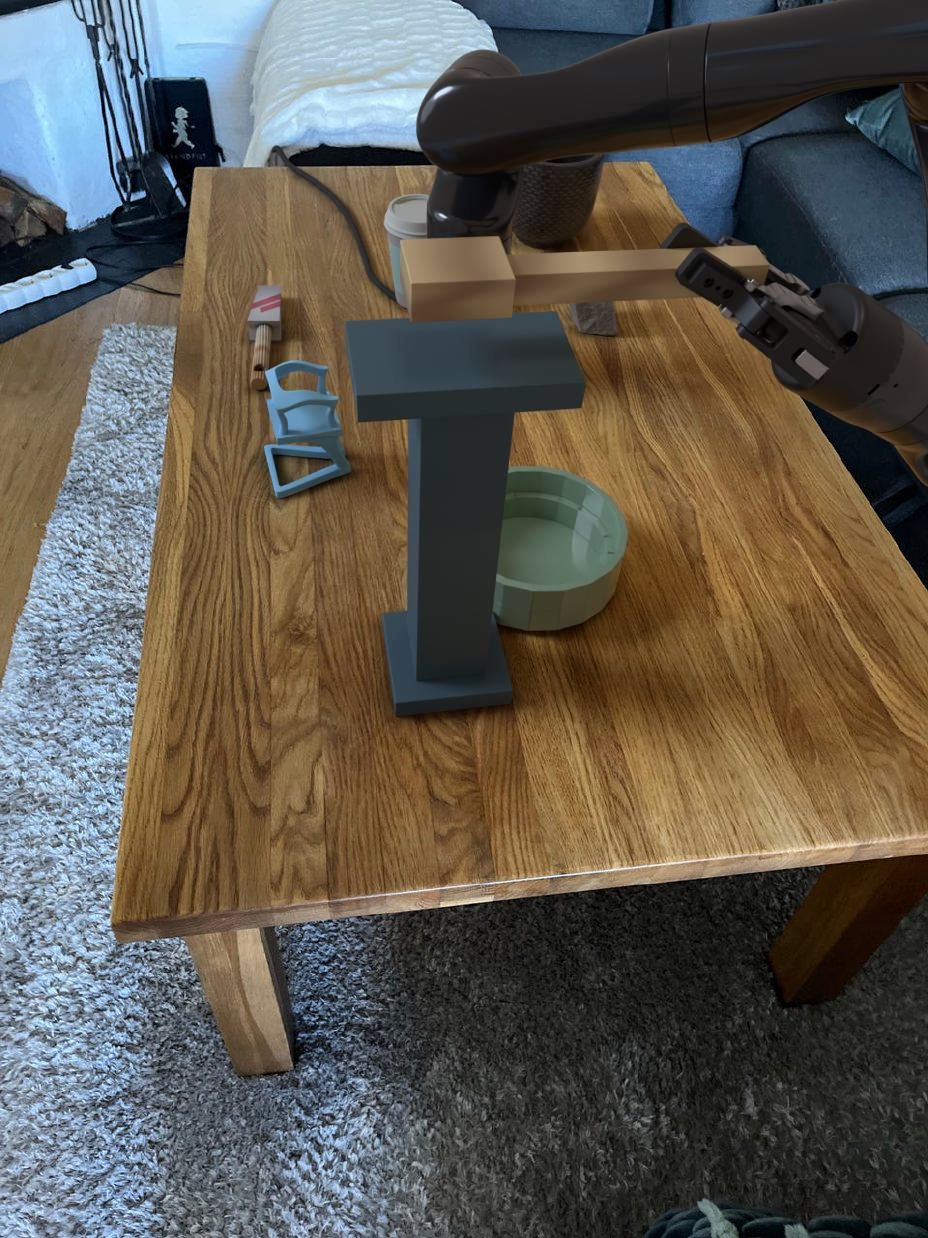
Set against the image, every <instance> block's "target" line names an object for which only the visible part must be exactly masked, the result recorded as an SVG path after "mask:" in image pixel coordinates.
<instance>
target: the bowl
mask: <svg viewBox="0 0 928 1238" xmlns="http://www.w3.org/2000/svg"><path fill="white" fill-rule="evenodd" d="M628 540H629V530H628V526H627V522H626V518H625V515H624V512H623V511H622V509H620V507H619V506H618V505H617V503H616V502H615V500H614V499H613V497H612V496H611V495H610V494H608V493H607V492H605V491H604V490H603V489H602V488H600V487H599V486H598V485H596V484H595V483H594V482H592V481H591V480H589V479H586V478H584V477H582V476H580V475H577V474H575V473H573V472H570V471H568V470H564V469H560V468H559V469H558V468H553V467H549V466H545V465H513V466H509V469H508V478H507V487H506V496H505V505H504V514H503V523H502V532H501V541H500V549H499V558H498V567H497V576H496V585H495V594H494V603H493V612H494V616H495V620H496V624H497V625H499V626H505V627H508V628H513V629H518V630H522V631H526V632H527V631H528V632H529V631H530V632H532V631H533V632H537V631H538V632H539V631H541V632H543V631H559V630H562V629H565V628H566V629H567V628H569V627H572V626H577V625H580V624H583V623H585V622H586V621H587V620H589V619H591V618H592V617H594V616H596V615H597V614H598V613H600V612H601V611H603V610H604V608H605V607H606V605H607V604H608V602H609V601H610V600H611V598H612V597H613V596H614V595H615V593H616V589H617V585H618V582H619V577H620V575H621V569H622V566H623V562H624V558H625V554H626V549H627V545H628Z"/></svg>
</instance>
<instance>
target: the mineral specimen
mask: <svg viewBox="0 0 928 1238" xmlns="http://www.w3.org/2000/svg"><path fill="white" fill-rule="evenodd" d="M614 302H615V301H610V302H589V303H569V308H570V314H571V319H572V322H573V323H574V324H575V325H576V327H577V330H578V332H580V333H582V334H588V335H599V336H616V335H618V327H617V315H616V309H615V303H614Z"/></svg>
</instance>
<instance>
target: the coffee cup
mask: <svg viewBox="0 0 928 1238" xmlns="http://www.w3.org/2000/svg"><path fill="white" fill-rule="evenodd" d="M428 197H429V194H426V193H425V194H424V193H409V194H405V195H401V196H397V197H395V198H394V199H392V200H391V201H390V202H389V204H388V206H387V211H386V212H385V214H384V219H383V226H384V228H385V229H386V233H387V239H388V247H389V249H388V250H389V258H390V265H391V272H392V280H393V288H394V293H395V295H396V299H397V302H398V305H399V306H401V307H402V308H405V309H407V305H406V300H405V296H404V292H403V288H402V284H401V279H400V240H403V239H426V210H427V201H428ZM397 302H396V303H397Z"/></svg>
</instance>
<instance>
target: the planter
mask: <svg viewBox="0 0 928 1238" xmlns="http://www.w3.org/2000/svg"><path fill="white" fill-rule="evenodd" d="M605 158H606V154H594V155H580V156H570V157H564V158H557V159H552V160H547V161H542V162H538V163H534V164H530V165H526V166H524V172H523V180H522V187H521V193H520V197H519V201H518V204H517V208H516V212H515V216H514V223H513V231H512V233H514V235H515V237H516V238H517V240H518V241H519V242H521V243H522V244H524V245H525V246H528V247H530V248H534V249H540V250H554V249H555V250H556V249H559V248H562V247H565V246H566V245H567V244H568V243H570V242H571V240H572V239H574V238H576V237H578V235H580V234H581V233H582V232H583V231H584V229H585V228H586V227H587V225H588V223H589V221H590V219H591V217H592V214H593V210H594V208H595V204H596V201H597V197H598V192H599V189H600V183H601V179H602V174H603V169H604V164H605Z"/></svg>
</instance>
